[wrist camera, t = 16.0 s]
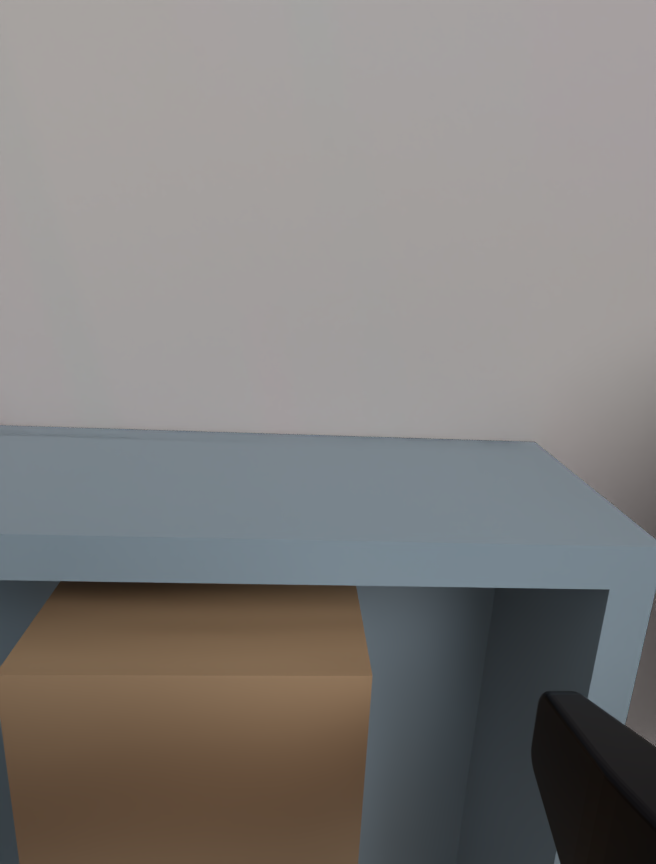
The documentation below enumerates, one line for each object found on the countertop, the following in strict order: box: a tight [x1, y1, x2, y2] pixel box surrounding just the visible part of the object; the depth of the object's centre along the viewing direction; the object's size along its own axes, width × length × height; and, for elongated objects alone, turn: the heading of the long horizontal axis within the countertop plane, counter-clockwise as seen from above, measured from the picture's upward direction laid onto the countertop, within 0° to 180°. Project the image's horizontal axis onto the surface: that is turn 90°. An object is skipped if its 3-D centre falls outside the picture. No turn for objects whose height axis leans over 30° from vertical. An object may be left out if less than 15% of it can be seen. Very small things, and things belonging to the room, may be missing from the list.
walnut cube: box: [0, 581, 372, 864], centre depth 11 cm, size 5×5×5 cm
